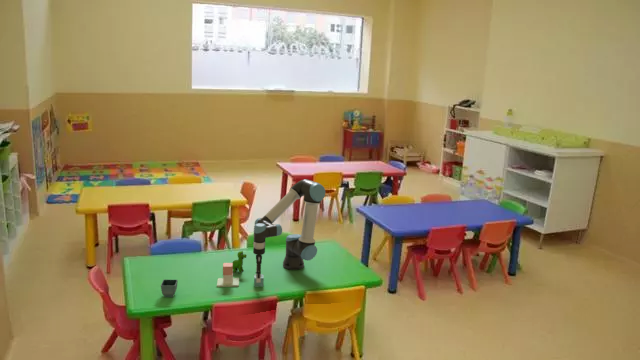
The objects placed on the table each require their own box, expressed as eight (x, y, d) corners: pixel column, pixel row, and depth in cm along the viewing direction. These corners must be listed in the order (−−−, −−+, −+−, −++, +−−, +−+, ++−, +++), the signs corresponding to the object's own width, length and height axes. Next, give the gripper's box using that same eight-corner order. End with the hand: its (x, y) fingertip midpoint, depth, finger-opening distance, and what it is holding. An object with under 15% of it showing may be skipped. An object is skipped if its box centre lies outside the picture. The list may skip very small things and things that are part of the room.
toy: (244, 274, 367) (244, 253, 363) (225, 271, 370) (225, 251, 366) (247, 270, 373) (247, 250, 369) (228, 268, 375) (228, 248, 372)
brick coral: (232, 271, 354) (232, 262, 352) (232, 275, 348) (232, 266, 347) (223, 271, 353) (223, 262, 352) (222, 275, 347) (222, 266, 346)
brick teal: (263, 282, 355) (263, 274, 354) (263, 286, 350) (263, 278, 348) (254, 282, 355) (254, 274, 353) (254, 286, 349) (254, 278, 347)
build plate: (239, 279, 359) (239, 269, 357) (238, 286, 348) (238, 276, 346) (217, 279, 357) (217, 269, 355) (216, 286, 346) (216, 276, 345)
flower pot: (175, 299, 328) (175, 285, 326) (160, 299, 327) (160, 285, 325) (178, 292, 336) (177, 279, 334) (163, 292, 336) (163, 279, 333)
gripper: (253, 240, 357) (252, 270, 362) (253, 254, 333) (252, 286, 338) (264, 240, 358) (263, 270, 363) (265, 254, 334) (264, 286, 339)
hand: (258, 277), depth 351 cm, fingers open, 13 cm apart
